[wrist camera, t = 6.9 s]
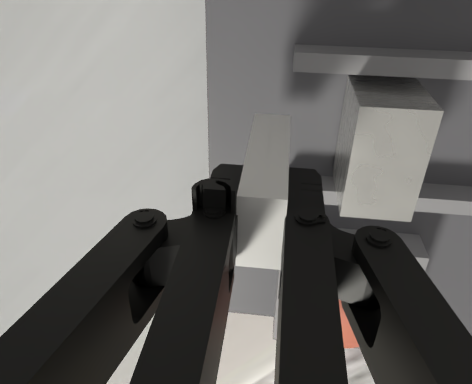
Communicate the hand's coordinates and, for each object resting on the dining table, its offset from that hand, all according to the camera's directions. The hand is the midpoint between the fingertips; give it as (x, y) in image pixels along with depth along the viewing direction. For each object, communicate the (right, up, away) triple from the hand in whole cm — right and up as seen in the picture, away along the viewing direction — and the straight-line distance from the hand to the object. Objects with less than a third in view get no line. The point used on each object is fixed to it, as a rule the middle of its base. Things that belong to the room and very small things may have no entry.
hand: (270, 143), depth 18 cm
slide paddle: (+5, +1, +2) cm, 5 cm away
